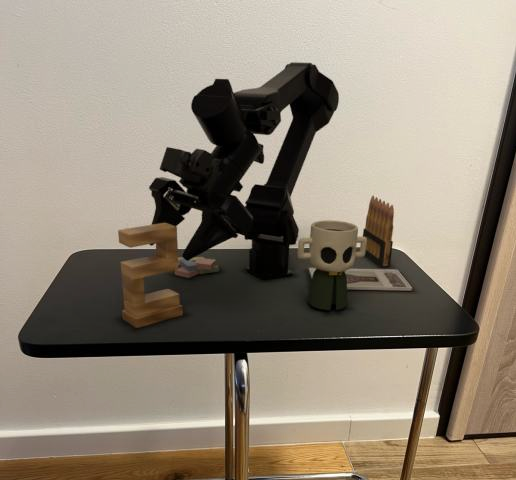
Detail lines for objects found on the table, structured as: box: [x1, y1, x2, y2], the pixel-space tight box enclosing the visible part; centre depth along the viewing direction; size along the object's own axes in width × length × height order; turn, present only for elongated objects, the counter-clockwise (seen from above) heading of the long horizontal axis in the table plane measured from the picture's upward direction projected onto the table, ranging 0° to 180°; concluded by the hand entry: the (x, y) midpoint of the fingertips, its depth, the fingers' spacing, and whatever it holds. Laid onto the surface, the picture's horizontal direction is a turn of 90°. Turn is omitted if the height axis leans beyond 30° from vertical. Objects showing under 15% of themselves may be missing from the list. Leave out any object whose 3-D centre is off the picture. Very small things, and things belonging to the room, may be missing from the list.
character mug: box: [297, 219, 367, 311], centre depth 84 cm, size 11×7×13 cm, turn 101°
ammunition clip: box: [362, 195, 395, 268], centre depth 108 cm, size 11×2×12 cm, turn 13°
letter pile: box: [174, 256, 220, 279], centre depth 100 cm, size 8×6×2 cm
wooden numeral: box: [117, 223, 184, 329], centre depth 78 cm, size 8×4×13 cm, turn 132°
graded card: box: [308, 267, 413, 292], centre depth 98 cm, size 10×1×17 cm
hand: (166, 251), depth 78 cm, fingers open, 9 cm apart
